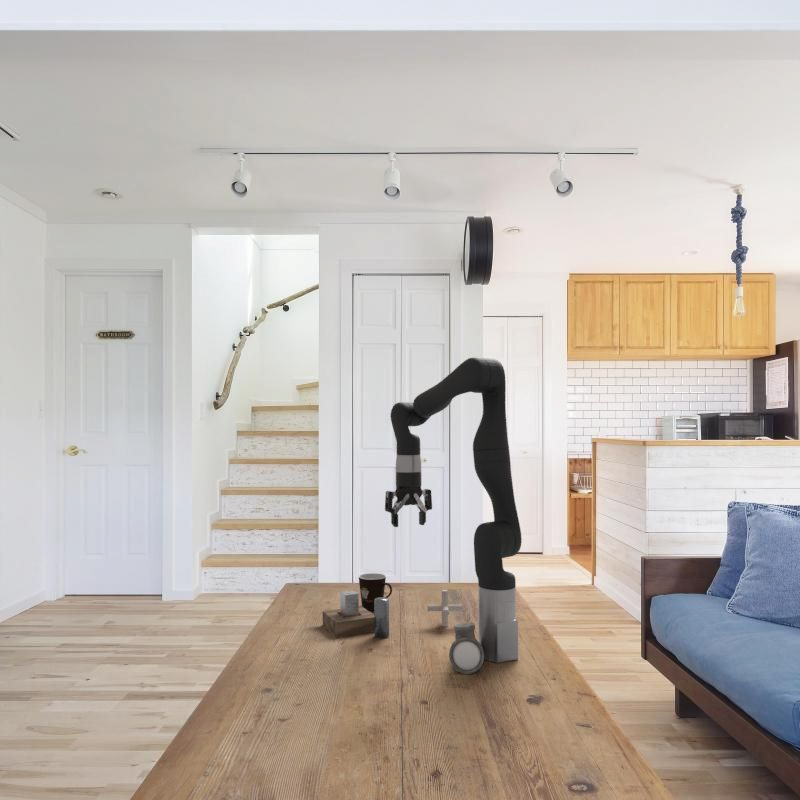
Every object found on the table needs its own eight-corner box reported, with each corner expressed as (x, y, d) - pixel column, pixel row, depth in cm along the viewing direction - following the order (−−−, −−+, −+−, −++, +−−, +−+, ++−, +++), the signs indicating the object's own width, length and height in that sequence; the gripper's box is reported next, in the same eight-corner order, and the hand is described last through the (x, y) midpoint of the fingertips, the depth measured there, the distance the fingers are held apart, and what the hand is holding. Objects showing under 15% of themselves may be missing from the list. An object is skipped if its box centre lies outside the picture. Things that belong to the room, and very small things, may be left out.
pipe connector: (464, 631, 181) (463, 594, 182) (428, 631, 181) (428, 595, 182) (461, 620, 191) (460, 586, 192) (427, 620, 191) (426, 586, 192)
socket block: (377, 631, 182) (377, 616, 182) (336, 637, 177) (336, 622, 177) (361, 619, 193) (361, 606, 193) (322, 625, 187) (322, 611, 188)
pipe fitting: (485, 674, 149) (481, 627, 151) (450, 675, 150) (446, 629, 152) (485, 661, 161) (481, 618, 162) (453, 663, 162) (449, 620, 163)
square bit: (358, 629, 184) (358, 593, 184) (345, 631, 182) (345, 595, 182) (353, 625, 187) (353, 590, 188) (340, 627, 185) (340, 591, 186)
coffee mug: (354, 606, 206) (354, 574, 207) (379, 603, 210) (379, 572, 210) (368, 616, 196) (368, 582, 196) (394, 612, 200) (394, 579, 200)
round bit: (391, 637, 176) (391, 600, 177) (377, 639, 175) (377, 601, 175) (385, 633, 180) (385, 596, 180) (372, 635, 178) (372, 598, 179)
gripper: (391, 472, 185) (392, 529, 184) (435, 470, 191) (436, 525, 190) (381, 470, 191) (381, 525, 191) (424, 468, 197) (424, 522, 197)
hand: (408, 525), depth 190 cm, fingers open, 8 cm apart
